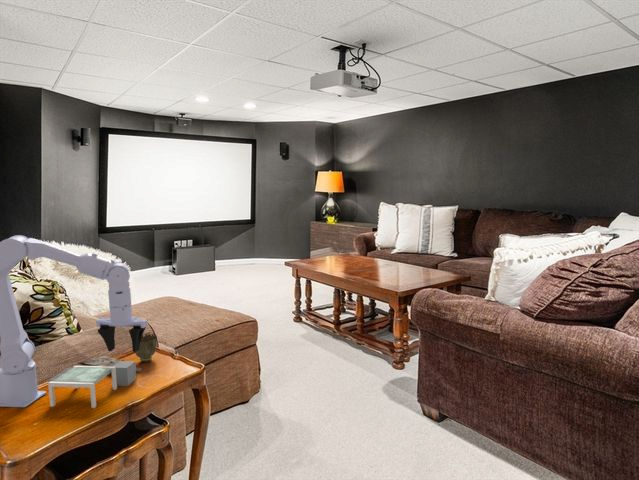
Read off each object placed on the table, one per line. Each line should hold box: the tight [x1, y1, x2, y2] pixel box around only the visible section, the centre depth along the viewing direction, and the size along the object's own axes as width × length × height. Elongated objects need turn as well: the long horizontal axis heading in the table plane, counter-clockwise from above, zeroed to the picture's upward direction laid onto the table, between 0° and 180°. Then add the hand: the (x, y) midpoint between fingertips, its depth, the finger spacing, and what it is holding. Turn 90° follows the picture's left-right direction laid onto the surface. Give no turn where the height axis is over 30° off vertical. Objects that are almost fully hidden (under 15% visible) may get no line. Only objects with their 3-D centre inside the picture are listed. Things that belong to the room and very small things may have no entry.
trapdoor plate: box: [47, 366, 112, 385], centre depth 114 cm, size 12×8×2 cm
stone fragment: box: [78, 355, 143, 373], centre depth 134 cm, size 25×3×10 cm
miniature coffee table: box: [47, 365, 118, 409], centre depth 114 cm, size 12×11×6 cm
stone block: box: [113, 360, 137, 387], centre depth 123 cm, size 5×5×6 cm
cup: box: [134, 333, 158, 363], centre depth 138 cm, size 8×7×8 cm
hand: (123, 350), depth 123 cm, fingers open, 7 cm apart
